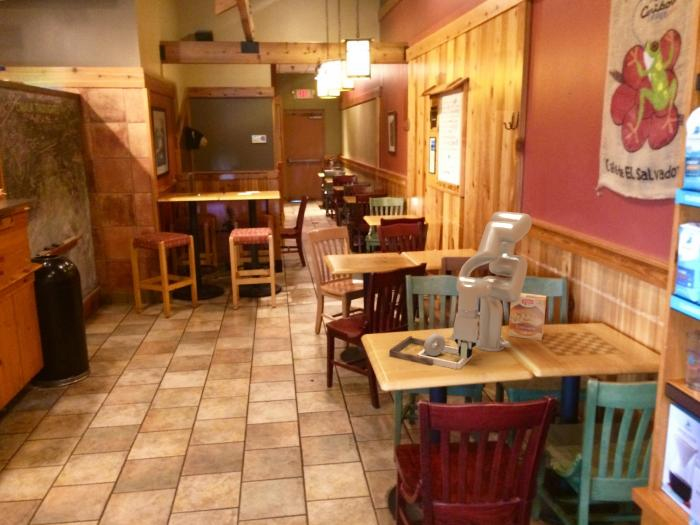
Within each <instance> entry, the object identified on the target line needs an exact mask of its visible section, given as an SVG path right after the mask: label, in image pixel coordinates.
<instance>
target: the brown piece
mask: <svg viewBox="0 0 700 525" xmlns="http://www.w3.org/2000/svg"><path fill="white" fill-rule="evenodd" d="M425 341H426V339H422V338H418V337H416V338H415V337H413V336H411V335H409V336H407V337H406V338H404V339H403V340H401V341H400V342H399V343H397V344H396V345H394V346H393V347H391V348H390V349H389V353H388V354H389V355H388V356H389V357H390V358H396V359H399V360H403V361H409V362H414V363H418V364H423V365H427V366H433V365H434V364H433V359H429V358H425V357H420V356H417V354H416V355H415V354H410V353H407V352H402V350H404V349H405V348H406V347H408V346H410V345H411V344H412V345H416V346H417V345H418V346H421V347H424V343H425ZM433 344H437V341H435V342H434V343H433ZM445 346H450V347H451V345H450V344H446V343H445Z"/></svg>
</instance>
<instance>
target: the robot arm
mask: <svg viewBox="0 0 700 525" xmlns="http://www.w3.org/2000/svg"><path fill="white" fill-rule="evenodd" d="M532 226H533V220H532V217H531V215H529V214H527V213H525V212H524V213H523V212H513V211H505V210H504V211H503V210H502V211H495V212H493V214H492V215H491V221H489V222H487V223H486V225H485V228H484V231H483V234H482V237H481V240H480V243H479V246H478V249H477V251H476V253H475V254H474V255H472V256H471V257H469V258H468V259H467V261H465V263H463V265H462V266H461V268H460V271H459V273H458V277H457V279H456V280H457V281H456V291H457V292H458V306H457V314H455V318H454V324H453V328H452V329H453V331H452V334H451V336H450V339H451V340H453V341H454V342H455V343H456V345H457V348H459V349H458V353H459V355H458V357H460V358H461V342H463V341H469V347H468V349H467V358H469V357H470V356H472V357H473V354H472V352H473V348H477V350H480V351H485V352H490V353H491V352H500V351H502V350H504V348H511V343H510V341H508V340H504V337H503V336H502V330H503V328H502V327H503V317H504V316H503V314H504V308H503V304H502V302H501V301H504V302H508V303H511V302H516V301H517V300H518V299H519V297H520V295H521V293H522V290H523V287H524V283H525V279H526V275H527V272H528V271H527V270H528V261H527V259H526V257H524V256H522V255H519V254H514V250H515V248H516V247H515V246H516V243H518V242H519V241H521V240H522V239H523V238H524V237H525V236H526V235H527V234H528V233H529V231H530V230H531V228H532ZM487 264H488V270H489V271H490V272H491V273H492V274H494V275H499V276H494V275H487V276H486V275H485V276H483V277H482V278H479V277H474V276H473V277H471V273H472V272H473V271H474V270H475V269H476V268H479V267H480V266H484V265H487ZM500 276H505V277H500ZM506 277H510V278H506ZM478 300H480V303H479V301H478ZM478 303H479V304H480V311H479V309H478Z"/></svg>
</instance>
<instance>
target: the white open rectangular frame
mask: <svg viewBox="0 0 700 525" xmlns="http://www.w3.org/2000/svg"><path fill="white" fill-rule="evenodd" d="M436 345H437V344H433V345H432V348H435V347H436ZM468 347H469V341H464V340H463V342H461V357H460V360H459V361H458V362H457V361H452V360H448V359H443V358H438V357H435V356H429V355H428V354H427V353H426V352H425V350H424V348H423V349H422V350H420V351H419V352H418V353H417V354H416V356H420V357H425V358H429V359H433V365H435V366H440V367H444V366H445V368H448V367H449V369H452V370H453V369H454V370H460V369H461V368H463V367H464V366H465V365H466V364H467V362H469V361H470V360H471V359H472V358H473V354H474V352H473V351H472V356H470V357H469V358H467V349H468ZM458 349H459V347H454V346H451V345H450V346H445V347H444V349H443V351H442V352H444V353H448V354H454V355H458V356H459V353H458Z"/></svg>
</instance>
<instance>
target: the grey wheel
mask: <svg viewBox="0 0 700 525" xmlns="http://www.w3.org/2000/svg"><path fill="white" fill-rule="evenodd" d="M425 340H426V341H425V343H424V346H423V349H424V350H425V352H426V353H427V356H429V357H436V356H439V355H441V354H442V352H443V349H444V347H445V344H446V339H445V337H444V336H443V335H442V334H440V333H437V332H434V333H432V334H430V335H427V337H426V339H425ZM434 342H437V345H436V347H435V348H432V345H433V343H434Z"/></svg>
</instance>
